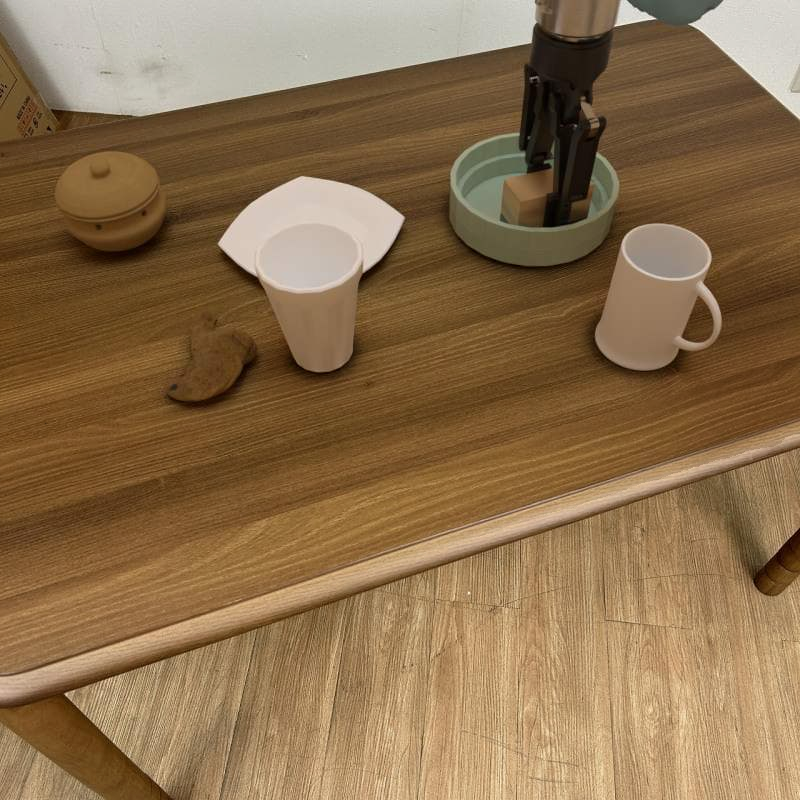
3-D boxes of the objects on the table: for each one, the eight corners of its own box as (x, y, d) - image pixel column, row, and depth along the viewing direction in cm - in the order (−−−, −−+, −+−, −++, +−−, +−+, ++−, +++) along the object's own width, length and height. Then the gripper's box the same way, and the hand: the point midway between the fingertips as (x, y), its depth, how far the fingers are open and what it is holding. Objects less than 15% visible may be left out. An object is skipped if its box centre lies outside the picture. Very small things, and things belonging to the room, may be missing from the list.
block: (567, 209, 90) (575, 162, 85) (584, 231, 87) (594, 184, 82) (499, 226, 88) (503, 178, 83) (514, 248, 86) (520, 201, 81)
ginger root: (210, 321, 80) (202, 296, 78) (275, 364, 76) (269, 339, 73) (137, 375, 76) (126, 350, 73) (202, 424, 72) (193, 400, 69)
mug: (720, 368, 75) (764, 278, 65) (660, 405, 72) (696, 317, 63) (636, 301, 81) (665, 210, 72) (577, 332, 78) (599, 242, 69)
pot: (126, 193, 95) (99, 122, 87) (194, 223, 91) (173, 151, 83) (54, 244, 89) (19, 172, 81) (124, 279, 85) (94, 206, 77)
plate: (425, 226, 90) (426, 213, 88) (330, 322, 80) (328, 309, 78) (301, 177, 97) (299, 163, 95) (198, 259, 87) (194, 246, 85)
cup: (338, 403, 73) (325, 306, 63) (255, 367, 76) (230, 269, 66) (388, 337, 78) (384, 239, 68) (309, 306, 82) (294, 208, 71)
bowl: (632, 198, 93) (642, 160, 88) (571, 291, 82) (580, 252, 78) (492, 155, 99) (496, 117, 95) (419, 236, 89) (420, 197, 85)
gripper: (499, -6, 74) (483, 192, 92) (582, 75, 64) (546, 281, 82) (566, -18, 76) (538, 179, 94) (659, 60, 65) (607, 265, 83)
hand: (542, 226), depth 88 cm, fingers closed on block, 4 cm apart
